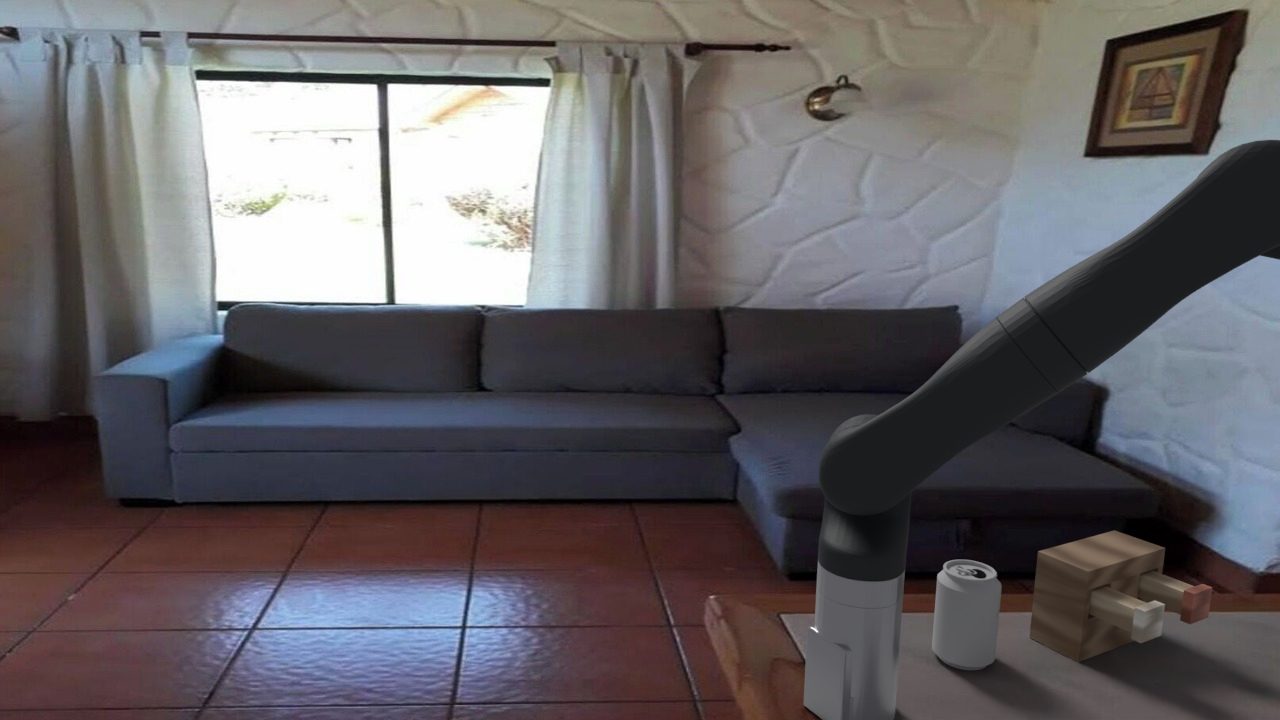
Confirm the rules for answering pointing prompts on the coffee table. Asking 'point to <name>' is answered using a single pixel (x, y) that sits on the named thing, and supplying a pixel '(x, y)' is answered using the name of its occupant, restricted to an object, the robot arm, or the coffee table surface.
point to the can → (966, 614)
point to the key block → (1087, 591)
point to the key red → (1176, 595)
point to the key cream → (1127, 613)
